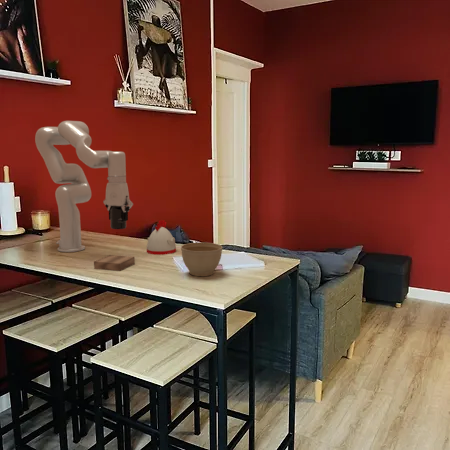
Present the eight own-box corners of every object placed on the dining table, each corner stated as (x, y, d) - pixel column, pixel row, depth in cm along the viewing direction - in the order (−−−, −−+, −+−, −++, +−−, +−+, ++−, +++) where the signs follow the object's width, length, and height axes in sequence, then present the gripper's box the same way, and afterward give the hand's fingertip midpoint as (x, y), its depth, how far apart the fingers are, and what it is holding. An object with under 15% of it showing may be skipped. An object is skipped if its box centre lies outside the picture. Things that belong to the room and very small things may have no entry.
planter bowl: (189, 281, 172) (189, 252, 170) (176, 270, 186) (175, 244, 185) (228, 276, 178) (228, 248, 176) (213, 266, 193) (213, 241, 191)
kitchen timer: (181, 250, 224) (181, 219, 221) (165, 256, 212) (164, 223, 209) (157, 247, 230) (157, 217, 228) (140, 252, 218) (139, 221, 215)
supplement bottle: (122, 229, 202) (121, 202, 200) (108, 229, 204) (107, 202, 202) (128, 227, 209) (128, 200, 207) (114, 226, 210) (114, 200, 208)
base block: (94, 268, 189) (94, 261, 189) (110, 261, 201) (109, 255, 200) (120, 270, 186) (120, 263, 185) (134, 263, 197) (134, 256, 197)
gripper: (96, 179, 203) (97, 219, 206) (127, 181, 195) (128, 223, 198) (107, 178, 210) (109, 217, 213) (138, 180, 202) (139, 220, 205)
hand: (118, 219), depth 206 cm, fingers closed on supplement bottle, 6 cm apart
